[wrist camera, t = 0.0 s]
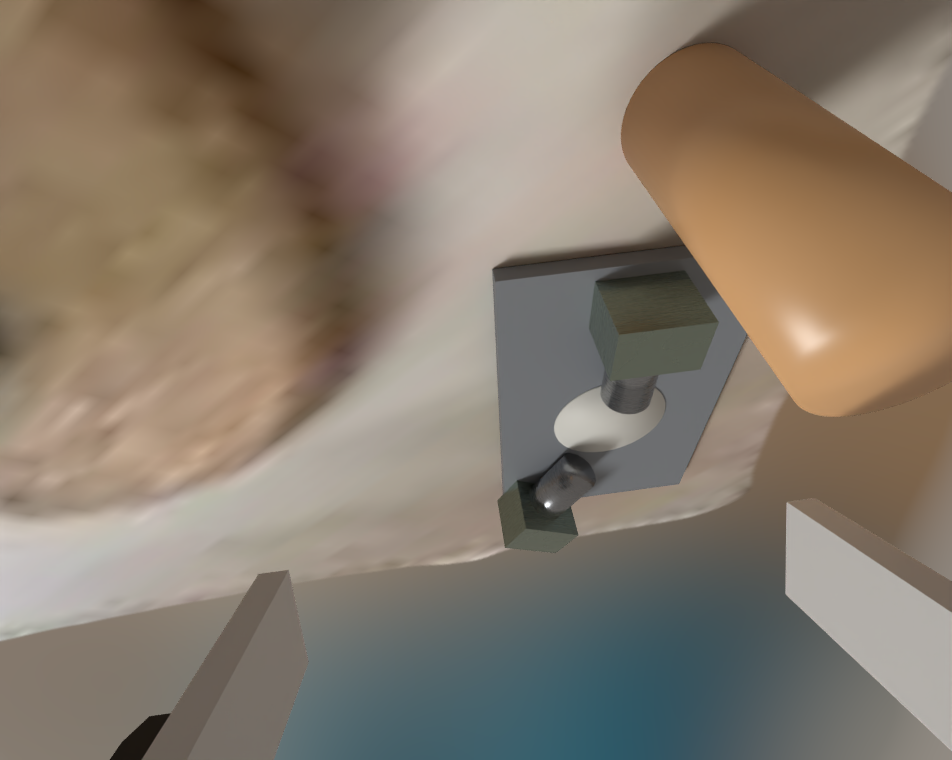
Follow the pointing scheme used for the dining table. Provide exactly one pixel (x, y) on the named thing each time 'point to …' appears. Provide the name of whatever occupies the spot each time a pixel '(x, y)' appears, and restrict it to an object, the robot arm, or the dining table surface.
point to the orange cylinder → (800, 229)
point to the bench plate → (596, 376)
